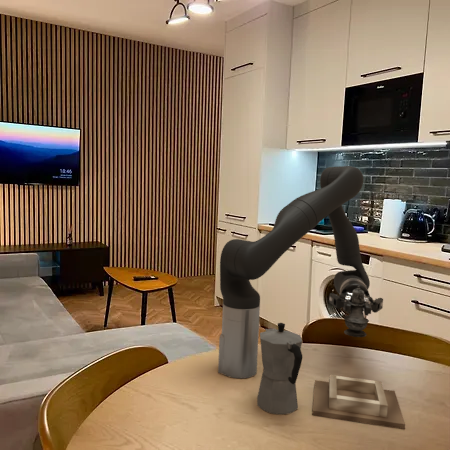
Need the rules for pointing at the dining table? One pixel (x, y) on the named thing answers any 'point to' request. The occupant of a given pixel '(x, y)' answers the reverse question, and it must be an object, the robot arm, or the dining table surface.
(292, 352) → the coffeepot
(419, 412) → the dining table surface
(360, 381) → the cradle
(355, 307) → the salt shaker
